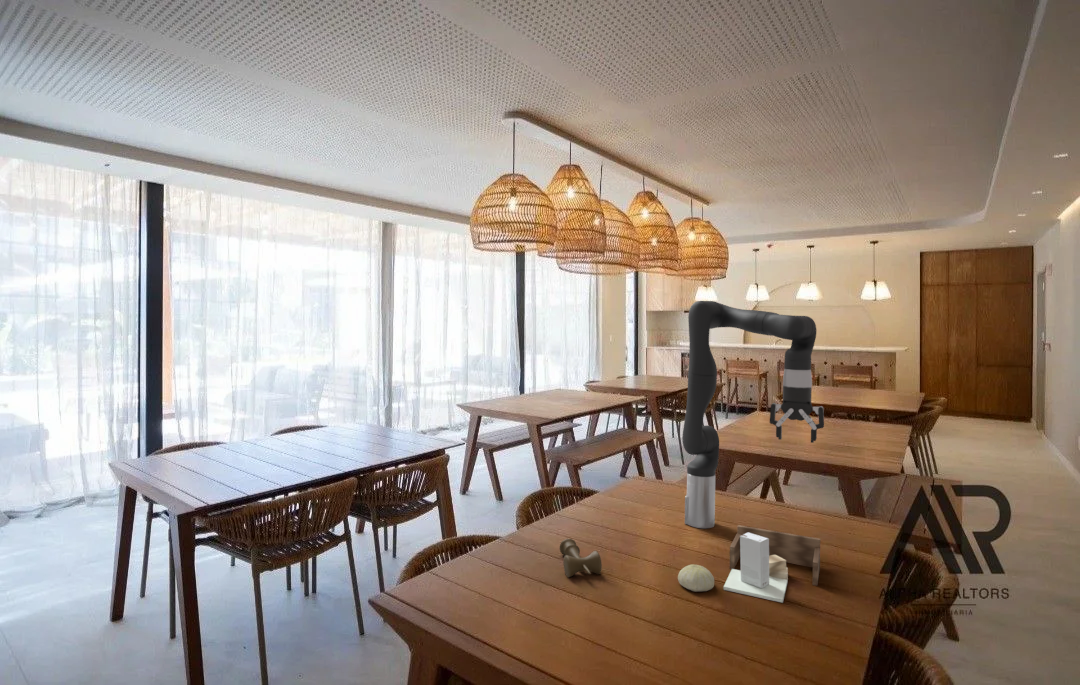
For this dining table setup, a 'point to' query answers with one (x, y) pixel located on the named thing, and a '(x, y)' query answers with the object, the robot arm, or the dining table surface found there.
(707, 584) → the sea urchin shell
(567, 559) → the kendama
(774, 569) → the offcut top
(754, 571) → the skincare box
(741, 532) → the screen
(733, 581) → the plate
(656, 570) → the dining table surface
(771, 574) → the offcut low
